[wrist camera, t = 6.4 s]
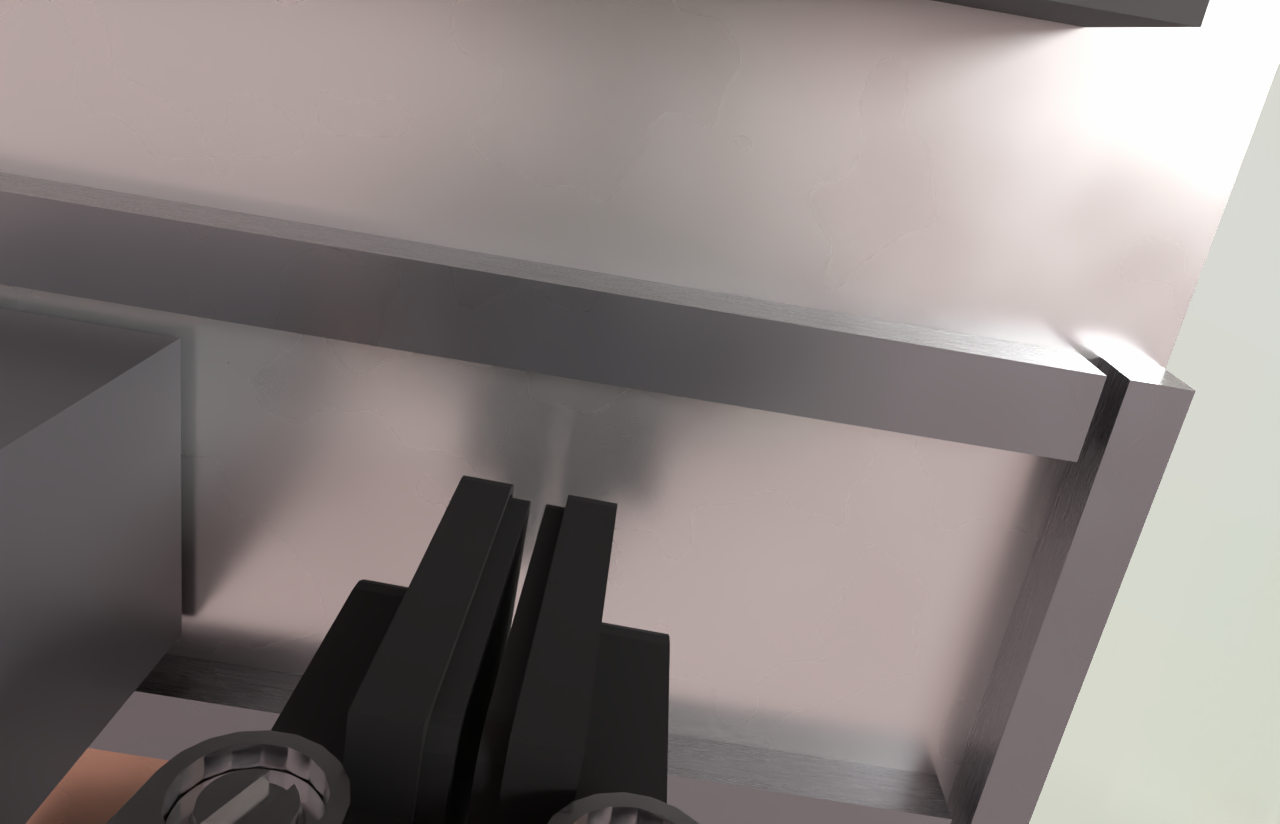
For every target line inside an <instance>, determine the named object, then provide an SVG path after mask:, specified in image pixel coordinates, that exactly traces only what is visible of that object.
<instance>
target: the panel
mask: <svg viewBox="0 0 1280 824" xmlns="http://www.w3.org/2000/svg"><path fill="white" fill-rule="evenodd" d="M1279 61H1280V0H1210V2H1209V4H1208V7H1207V10H1206V13H1205V16H1204V19H1203V22H1202V25H1201V27H1081V26H1075V25H1070V24H1064V23H1058V22H1052V21H1047V20H1041V19H1035V18H1030V17H1024V16H1018V15H1012V14H1007V13H1001V12H995V11H990V10H984V9H978V8H972V7H967V6H961V5H955V4H950V3H944V2H938V1H932V0H0V308H3V309H9V310H15V311H21V312H27V313H33V314H39V315H45V316H51V317H57V318H63V319H69V320H75V321H81V322H88V323H94V324H100V325H106V326H112V327H118V328H124V329H130V330H136V331H142V332H148V333H154V334H160V335H166V336H172V337H179V338H181V568H182V634H181V635H180V637H179V638H178V639H177V640H176V642H175V643H174V644H173V645H172V646H171V648H170V649H169V650H168V651H167V652H166V654H165V655H164V656H163V657H162V659H161V660H160V661H159V662H158V663H157V665H156V666H155V667H154V668H153V669H152V671H151V672H150V673H149V674H148V676H147V677H146V678H145V679H144V680H143V682H142V683H141V684H140V685H139V686H138V688H137V689H136V690H135V691H134V693H133V694H132V695H131V696H130V697H129V699H128V700H127V701H126V702H125V703H124V705H123V706H122V707H121V708H120V710H119V711H118V712H117V713H116V714H115V716H114V717H113V718H112V719H111V720H110V722H109V723H108V724H107V725H106V727H105V728H104V729H103V730H102V731H101V733H100V734H99V735H98V736H97V737H96V739H95V740H94V741H93V742H92V744H91V745H90V746H89V747H88V748H87V750H86V751H85V752H84V753H83V754H82V756H81V757H80V758H79V759H78V760H77V762H76V763H75V764H74V765H73V767H72V768H71V769H70V770H69V771H68V773H67V774H66V775H65V776H64V777H63V779H62V780H61V781H60V782H59V784H58V785H57V786H56V787H55V788H54V790H53V791H52V792H51V793H50V794H49V796H48V797H47V798H46V799H45V801H44V802H43V803H42V804H41V805H40V807H39V808H38V809H37V810H36V811H35V813H34V814H33V815H32V816H31V818H30V819H29V820H28V821H27V822H26V824H106V823H107V822H108V821H109V820H110V819H111V818H112V817H113V816H114V815H115V814H116V813H117V812H118V811H119V810H120V809H121V808H122V807H123V806H124V805H125V804H126V802H127V801H128V800H129V799H130V798H131V797H132V796H133V795H134V794H135V793H136V792H137V791H138V790H139V789H140V788H141V787H142V786H143V785H144V784H145V783H146V782H147V780H148V779H149V778H150V777H151V776H152V775H153V774H154V773H155V772H156V771H157V770H158V769H159V768H161V767H162V766H163V765H164V764H166V763H167V762H168V761H169V760H171V759H172V758H173V757H174V756H176V755H177V754H178V753H180V752H181V751H183V750H185V749H188V748H190V747H192V746H194V745H196V744H198V743H200V742H202V741H205V740H207V739H209V738H214V737H218V736H222V735H226V734H230V733H234V732H239V731H262V730H271V729H272V727H273V726H274V724H275V722H276V720H277V719H278V717H279V715H280V713H281V712H282V710H283V708H284V707H285V705H286V703H287V701H288V700H289V698H290V696H291V695H292V693H293V691H294V689H295V688H296V686H297V684H298V683H299V681H300V679H301V677H302V676H303V674H304V672H305V670H306V669H307V667H308V665H309V664H310V662H311V660H312V658H313V657H314V655H315V653H316V652H317V650H318V648H319V646H320V645H321V643H322V641H323V640H324V638H325V636H326V634H327V633H328V631H329V629H330V627H331V626H332V624H333V622H334V621H335V619H336V617H337V615H338V614H339V612H340V610H341V609H342V607H343V605H344V603H345V602H346V600H347V598H348V596H349V595H350V593H351V591H352V590H353V588H354V587H355V585H356V584H357V583H358V581H359V580H363V579H365V580H371V581H376V582H382V583H387V584H393V585H399V586H404V587H409V585H410V583H411V581H412V579H413V577H414V575H415V573H416V571H417V569H418V566H419V564H420V562H421V560H422V558H423V556H424V554H425V552H426V550H427V548H428V546H429V544H430V542H431V540H432V538H433V535H434V533H435V531H436V529H437V527H438V525H439V523H440V521H441V519H442V517H443V515H444V513H445V511H446V509H447V507H448V505H449V502H450V500H451V498H452V496H453V494H454V492H455V490H456V488H457V486H458V484H459V482H460V480H461V478H462V476H463V475H465V476H471V477H476V478H481V479H487V480H492V481H498V482H503V483H509V484H514V493H513V498H517V499H522V500H528V501H531V505H530V513H529V519H528V525H527V532H526V538H525V544H524V550H523V556H522V562H521V569H520V575H519V581H518V587H517V593H516V599H515V606H514V612H513V618H512V623H513V619H514V616H515V612H516V609H517V605H518V602H519V598H520V595H521V591H522V588H523V584H524V580H525V577H526V573H527V570H528V566H529V563H530V559H531V556H532V552H533V549H534V545H535V542H536V538H537V534H538V531H539V527H540V524H541V520H542V517H543V513H544V510H545V506H546V504H549V505H555V506H560V507H565V506H566V502H567V498H568V495H574V496H579V497H585V498H590V499H595V500H601V501H606V502H612V503H617V512H616V520H615V527H614V535H613V542H612V550H611V557H610V565H609V572H608V580H607V587H606V595H605V602H604V610H603V617H602V622H604V623H609V624H615V625H620V626H626V627H631V628H637V629H643V630H648V631H654V632H659V633H665V634H668V635H669V637H670V667H669V719H668V771H667V804H669V805H671V806H674V807H676V808H678V809H680V810H681V811H682V812H684V813H685V814H687V815H688V816H689V817H691V818H692V819H694V820H695V821H696V822H698V823H699V824H1029V821H1030V819H1031V816H1032V814H1033V811H1034V808H1035V806H1036V803H1037V801H1038V798H1039V795H1040V793H1041V790H1042V788H1043V785H1044V782H1045V780H1046V777H1047V775H1048V772H1049V770H1050V767H1051V764H1052V762H1053V759H1054V757H1055V754H1056V751H1057V749H1058V746H1059V744H1060V741H1061V738H1062V736H1063V733H1064V731H1065V728H1066V725H1067V723H1068V720H1069V718H1070V715H1071V712H1072V710H1073V707H1074V705H1075V702H1076V699H1077V697H1078V694H1079V692H1080V689H1081V686H1082V684H1083V681H1084V679H1085V676H1086V673H1087V671H1088V668H1089V666H1090V663H1091V661H1092V658H1093V655H1094V653H1095V650H1096V648H1097V645H1098V642H1099V640H1100V637H1101V635H1102V632H1103V629H1104V627H1105V624H1106V622H1107V619H1108V616H1109V614H1110V611H1111V609H1112V606H1113V603H1114V601H1115V598H1116V596H1117V593H1118V590H1119V588H1120V585H1121V583H1122V580H1123V577H1124V575H1125V572H1126V570H1127V567H1128V564H1129V562H1130V559H1131V557H1132V554H1133V551H1134V549H1135V546H1136V544H1137V541H1138V539H1139V536H1140V533H1141V531H1142V528H1143V526H1144V523H1145V520H1146V518H1147V515H1148V513H1149V510H1150V507H1151V505H1152V502H1153V500H1154V497H1155V494H1156V492H1157V489H1158V487H1159V484H1160V481H1161V479H1162V476H1163V474H1164V471H1165V468H1166V466H1167V463H1168V461H1169V458H1170V455H1171V453H1172V450H1173V448H1174V445H1175V442H1176V440H1177V437H1178V435H1179V432H1180V430H1181V427H1182V424H1183V422H1184V419H1185V417H1186V414H1187V411H1188V409H1189V406H1190V404H1191V401H1192V398H1193V396H1194V393H1195V390H1193V389H1192V388H1191V387H1189V386H1188V385H1186V384H1185V383H1183V382H1182V381H1181V380H1179V379H1178V378H1176V377H1175V376H1174V375H1172V374H1171V373H1169V372H1168V371H1166V370H1165V368H1166V366H1167V363H1168V360H1169V358H1170V355H1171V352H1172V350H1173V347H1174V344H1175V341H1176V339H1177V336H1178V333H1179V331H1180V328H1181V325H1182V323H1183V320H1184V317H1185V314H1186V312H1187V309H1188V306H1189V304H1190V301H1191V298H1192V296H1193V293H1194V290H1195V287H1196V285H1197V282H1198V279H1199V277H1200V274H1201V271H1202V269H1203V266H1204V263H1205V260H1206V258H1207V255H1208V252H1209V250H1210V247H1211V244H1212V242H1213V239H1214V236H1215V234H1216V231H1217V228H1218V225H1219V223H1220V220H1221V217H1222V215H1223V212H1224V209H1225V207H1226V204H1227V201H1228V198H1229V196H1230V193H1231V190H1232V188H1233V185H1234V182H1235V180H1236V177H1237V174H1238V171H1239V169H1240V166H1241V163H1242V161H1243V158H1244V155H1245V153H1246V150H1247V147H1248V144H1249V142H1250V139H1251V136H1252V134H1253V131H1254V128H1255V126H1256V123H1257V120H1258V117H1259V115H1260V112H1261V109H1262V107H1263V104H1264V101H1265V99H1266V96H1267V93H1268V90H1269V88H1270V85H1271V82H1272V80H1273V77H1274V74H1275V72H1276V69H1277V66H1278V64H1279ZM511 627H512V624H511Z"/></svg>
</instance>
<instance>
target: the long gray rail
mask: <svg viewBox="0 0 1280 824" xmlns="http://www.w3.org/2000/svg"><path fill="white" fill-rule="evenodd" d="M932 1H938V2H944V3H950V4H955V5H961V6H967V7H972V8H978V9H984V10H990V11H995V12H1001V13H1007V14H1012V15H1018V16H1024V17H1030V18H1035V19H1041V20H1047V21H1052V22H1058V23H1064V24H1070V25H1075V26H1081V27H1201V25H1202V22H1203V19H1204V16H1205V13H1206V10H1207V7H1208V4H1209V2H1210V0H932Z"/></svg>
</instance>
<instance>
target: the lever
mask: <svg viewBox="0 0 1280 824" xmlns="http://www.w3.org/2000/svg"><path fill="white" fill-rule="evenodd" d="M181 634H182V568H181V338H179V337H172V336H166V335H160V334H154V333H148V332H142V331H136V330H130V329H124V328H118V327H112V326H106V325H100V324H94V323H88V322H81V321H75V320H69V319H63V318H57V317H51V316H45V315H39V314H33V313H27V312H21V311H15V310H9V309H3V308H0V824H26V822H27V821H28V820H29V819H30V818H31V816H32V815H33V814H34V813H35V811H36V810H37V809H38V808H39V807H40V805H41V804H42V803H43V802H44V801H45V799H46V798H47V797H48V796H49V794H50V793H51V792H52V791H53V790H54V788H55V787H56V786H57V785H58V784H59V782H60V781H61V780H62V779H63V777H64V776H65V775H66V774H67V773H68V771H69V770H70V769H71V768H72V767H73V765H74V764H75V763H76V762H77V760H78V759H79V758H80V757H81V756H82V754H83V753H84V752H85V751H86V750H87V748H88V747H89V746H90V745H91V744H92V742H93V741H94V740H95V739H96V737H97V736H98V735H99V734H100V733H101V731H102V730H103V729H104V728H105V727H106V725H107V724H108V723H109V722H110V720H111V719H112V718H113V717H114V716H115V714H116V713H117V712H118V711H119V710H120V708H121V707H122V706H123V705H124V703H125V702H126V701H127V700H128V699H129V697H130V696H131V695H132V694H133V693H134V691H135V690H136V689H137V688H138V686H139V685H140V684H141V683H142V682H143V680H144V679H145V678H146V677H147V676H148V674H149V673H150V672H151V671H152V669H153V668H154V667H155V666H156V665H157V663H158V662H159V661H160V660H161V659H162V657H163V656H164V655H165V654H166V652H167V651H168V650H169V649H170V648H171V646H172V645H173V644H174V643H175V642H176V640H177V639H178V638H179V637H180V635H181Z"/></svg>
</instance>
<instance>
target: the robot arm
mask: <svg viewBox="0 0 1280 824" xmlns="http://www.w3.org/2000/svg"><path fill="white" fill-rule="evenodd" d="M513 493H514V484H509V483H503V482H498V481H492V480H487V479H481V478H476V477H471V476H465V475H463V476H462V478H461V480H460V482H459V484H458V486H457V488H456V490H455V492H454V494H453V496H452V498H451V500H450V502H449V505H448V507H447V509H446V511H445V513H444V515H443V517H442V519H441V521H440V523H439V525H438V527H437V529H436V531H435V533H434V535H433V538H432V540H431V542H430V544H429V546H428V548H427V550H426V552H425V554H424V556H423V558H422V560H421V562H420V564H419V566H418V569H417V571H416V573H415V575H414V577H413V579H412V581H411V583H410V585H409V587H404V586H399V585H393V584H387V583H382V582H376V581H371V580H365V579H363V580H359V581H358V583H357V584H356V585H355V587H354V588H353V590H352V591H351V593H350V595H349V596H348V598H347V600H346V602H345V603H344V605H343V607H342V609H341V610H340V612H339V614H338V615H337V617H336V619H335V621H334V622H333V624H332V626H331V627H330V629H329V631H328V633H327V634H326V636H325V638H324V640H323V641H322V643H321V645H320V646H319V648H318V650H317V652H316V653H315V655H314V657H313V658H312V660H311V662H310V664H309V665H308V667H307V669H306V670H305V672H304V674H303V676H302V677H301V679H300V681H299V683H298V684H297V686H296V688H295V689H294V691H293V693H292V695H291V696H290V698H289V700H288V701H287V703H286V705H285V707H284V708H283V710H282V712H281V713H280V715H279V717H278V719H277V720H276V722H275V724H274V726H273V727H272V729H271V730H262V731H239V732H234V733H230V734H226V735H222V736H218V737H214V738H209V739H207V740H205V741H202V742H200V743H198V744H196V745H194V746H192V747H190V748H188V749H185V750H183V751H181V752H180V753H178V754H177V755H176V756H174V757H173V758H172V759H171V760H169V761H168V762H167V763H166V764H164V765H163V766H162V767H161V768H159V769H158V770H157V771H156V772H155V773H154V774H153V775H152V776H151V777H150V778H149V779H148V780H147V782H146V783H145V784H144V785H143V786H142V787H141V788H140V789H139V790H138V791H137V792H136V793H135V794H134V795H133V796H132V797H131V798H130V799H129V800H128V801H127V802H126V804H125V805H124V806H123V807H122V808H121V809H120V810H119V811H118V812H117V813H116V814H115V815H114V816H113V817H112V818H111V819H110V820H109V821H108V822H107V823H106V824H699V823H698V822H696V821H695V820H694V819H692V818H691V817H689V816H688V815H687V814H685V813H684V812H682V811H681V810H680V809H678V808H676V807H674V806H671V805H669V804H667V771H668V719H669V667H670V637H669V635H668V634H665V633H659V632H654V631H648V630H643V629H637V628H631V627H626V626H620V625H615V624H609V623H604V622H602V617H603V610H604V602H605V595H606V587H607V580H608V572H609V565H610V557H611V550H612V542H613V535H614V527H615V520H616V512H617V503H612V502H606V501H601V500H595V499H590V498H585V497H579V496H574V495H568V498H567V502H566V506H565V507H560V506H555V505H549V504H546V506H545V510H544V513H543V517H542V520H541V524H540V527H539V531H538V534H537V538H536V542H535V545H534V549H533V552H532V556H531V559H530V563H529V566H528V570H527V573H526V577H525V580H524V584H523V588H522V591H521V595H520V598H519V602H518V605H517V609H516V612H515V616H514V619H513V623H512V618H513V612H514V606H515V599H516V593H517V587H518V581H519V575H520V569H521V562H522V556H523V550H524V544H525V538H526V532H527V525H528V519H529V513H530V505H531V501H528V500H522V499H517V498H513ZM511 624H512V627H511Z"/></svg>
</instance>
